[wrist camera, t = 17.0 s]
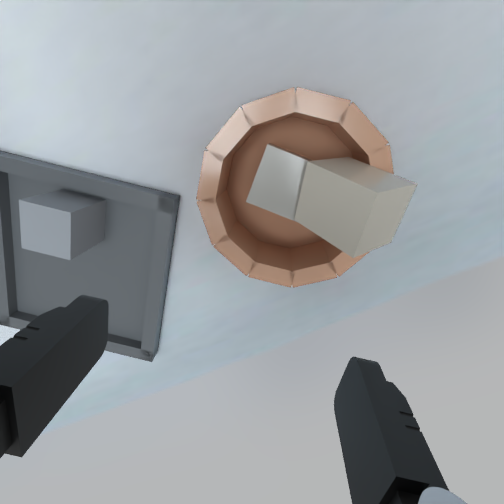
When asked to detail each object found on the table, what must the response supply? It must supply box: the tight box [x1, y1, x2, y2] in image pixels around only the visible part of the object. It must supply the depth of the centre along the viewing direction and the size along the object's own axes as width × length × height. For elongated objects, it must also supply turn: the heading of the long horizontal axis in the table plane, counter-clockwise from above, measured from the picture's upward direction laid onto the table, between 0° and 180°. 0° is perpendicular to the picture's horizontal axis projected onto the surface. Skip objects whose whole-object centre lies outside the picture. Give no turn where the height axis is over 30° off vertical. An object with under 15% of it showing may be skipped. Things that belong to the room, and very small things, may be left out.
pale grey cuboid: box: [246, 143, 313, 222], centre depth 20 cm, size 4×4×4 cm
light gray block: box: [19, 189, 106, 260], centre depth 23 cm, size 4×4×4 cm
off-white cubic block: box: [294, 157, 417, 258], centre depth 17 cm, size 4×4×4 cm
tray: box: [0, 151, 180, 362], centre depth 27 cm, size 16×15×1 cm
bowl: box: [196, 87, 394, 287], centre depth 21 cm, size 12×12×5 cm
